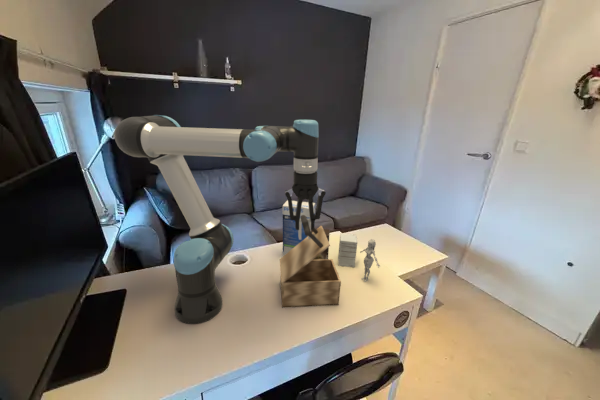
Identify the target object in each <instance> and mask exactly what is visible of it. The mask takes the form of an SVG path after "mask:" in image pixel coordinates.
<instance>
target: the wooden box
mask: <svg viewBox="0 0 600 400" xmlns="http://www.w3.org/2000/svg"><path fill="white" fill-rule="evenodd" d="M279 281H280V282H279V283H280V297H281V299H280V300H281V308H282V309H283V308H285V309H286V308H301V307H302V308H303V307H304V308H305V307H325V306H326V307H329V306H339V305H340V295H341V286H342V285H341V284H342V280H341V278H340V276H339V273H338V270H337V268H336V266H335V263H334V261H333V259H332V258H328V259H321V260H312V261H310V262H309V263H308V264H307V265H305V266H304V267H303V268H302V269H300V270H299V271H298V272H297V273H295V274H294V275H293V276H292V277H290V278H289V279H288V280H287V281H285V282H284V283H283V284H282V283H281V275H280V280H279Z"/></svg>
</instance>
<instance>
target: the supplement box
mask: <svg viewBox="0 0 600 400" xmlns="http://www.w3.org/2000/svg"><path fill="white" fill-rule="evenodd" d="M338 244H339V245H338V254H337V260H338V261H337V262H338V264H337V265H338V266H339V267H347V268H355V267H356V259H357V252H358V251H357V249H358V238H357V234H353V233H342V232H341V233H339V243H338Z"/></svg>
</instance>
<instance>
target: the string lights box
mask: <svg viewBox="0 0 600 400" xmlns="http://www.w3.org/2000/svg"><path fill="white" fill-rule="evenodd" d="M297 201H298V200H292V206H293V214H294V215H296V208H297ZM313 210H314V215H315V213H316V202H313ZM302 215H305V216H306V218H307V220H308V219H310V213H309V204H308V201H302V206H301V213H300V219H301V216H302ZM301 222H302V221H301ZM315 222H316V221H315ZM315 222H314V226H315V225H316V224H315ZM306 237H308V236H306V235H305V233H304V229H303V225H302V229H301V240H299V237H298V230H296V228H295V221H294V220H291V219H290V213H289V205H288V199H287V200H286V201H285V202H284V203H283V205H282V257H283V256H284V255H285V254H287V253H288V252H289V251H290V250H292V249H293V248H294V247H295V246H297V245H298V244H299V243H300V242H301V241H303V240H304V239H305V238H306Z"/></svg>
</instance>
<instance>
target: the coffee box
mask: <svg viewBox="0 0 600 400" xmlns="http://www.w3.org/2000/svg"><path fill="white" fill-rule="evenodd" d="M323 230H324V232H325V234H326V237H327V239H328V242H329V243H330V229H327V228H323ZM311 232H313V231H312V230H311ZM329 249H330V246H329V247H328V248H327V249H326V250H324V251H323V252H322V253H321V254H319V255H318V256H317V257H315V258H314V259H313V260H321V259H329Z"/></svg>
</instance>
